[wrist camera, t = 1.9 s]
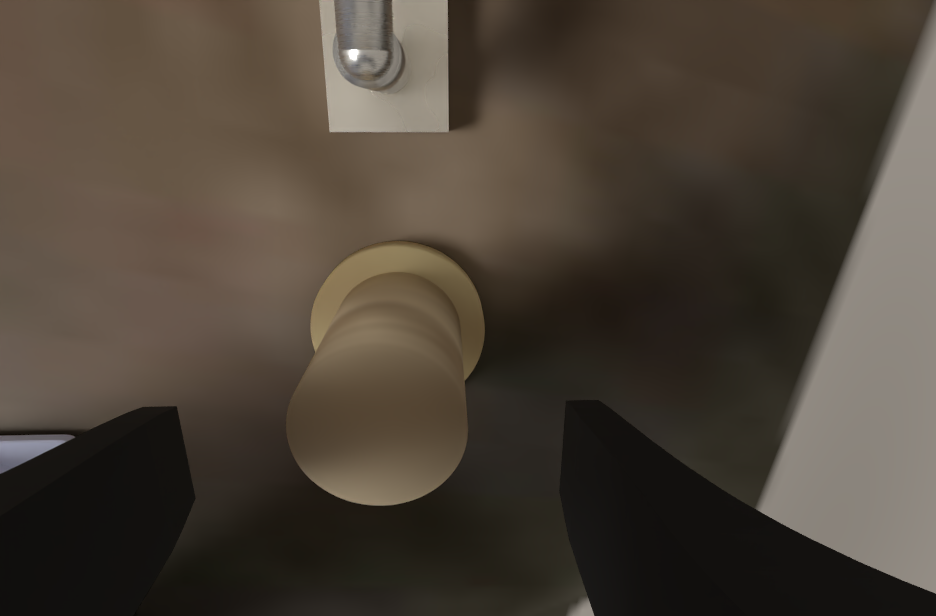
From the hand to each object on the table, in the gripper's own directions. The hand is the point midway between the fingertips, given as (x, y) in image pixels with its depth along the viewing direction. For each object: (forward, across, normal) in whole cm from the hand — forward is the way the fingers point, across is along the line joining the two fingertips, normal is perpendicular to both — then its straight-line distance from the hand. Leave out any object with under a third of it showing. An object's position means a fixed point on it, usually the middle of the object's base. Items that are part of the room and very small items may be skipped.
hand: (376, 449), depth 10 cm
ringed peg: (+7, 0, 0) cm, 7 cm away
